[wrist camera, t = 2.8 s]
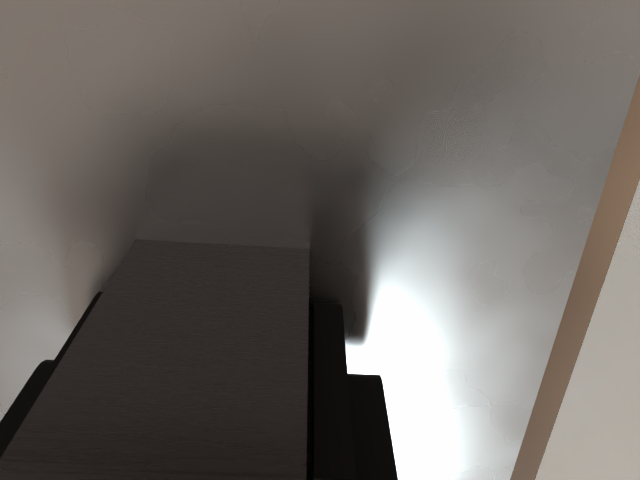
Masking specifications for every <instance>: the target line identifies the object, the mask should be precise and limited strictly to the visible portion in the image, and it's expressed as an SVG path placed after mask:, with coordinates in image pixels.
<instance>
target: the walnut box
mask: <svg viewBox="0 0 640 480" xmlns="http://www.w3.org/2000/svg"><path fill="white" fill-rule="evenodd" d="M639 179H640V75H639V78H638V81H637V84H636V87H635V91H634V94H633V97H632V100H631V103H630V106H629V109H628V113H627V116H626V119H625V122H624V125H623V128H622V131H621V134H620V138H619V141H618V144H617V147H616V150H615V153H614V156H613V159H612V163H611V166H610V169H609V172H608V175H607V178H606V181H605V184H604V188H603V191H602V194H601V197H600V200H599V203H598V206H597V209H596V213H595V216H594V219H593V222H592V225H591V228H590V231H589V234H588V238H587V241H586V244H585V247H584V250H583V253H582V256H581V260H580V263H579V266H578V269H577V272H576V275H575V278H574V281H573V285H572V288H571V291H570V294H569V297H568V300H567V303H566V306H565V310H564V313H563V316H562V319H561V322H560V325H559V328H558V331H557V335H556V338H555V341H554V344H553V347H552V350H551V353H550V356H549V360H548V363H547V366H546V369H545V372H544V375H543V378H542V381H541V385H540V388H539V391H538V394H537V397H536V400H535V403H534V406H533V410H532V413H531V416H530V419H529V422H528V425H527V428H526V432H525V435H524V438H523V441H522V444H521V447H520V450H519V453H518V457H517V460H516V463H515V466H514V469H513V472H512V475H511V478H510V480H535V478H536V475H537V472H538V469H539V466H540V463H541V460H542V457H543V455H544V452H545V449H546V446H547V443H548V440H549V437H550V435H551V432H552V429H553V426H554V423H555V420H556V417H557V414H558V412H559V409H560V406H561V403H562V400H563V397H564V394H565V392H566V389H567V386H568V383H569V380H570V377H571V374H572V371H573V369H574V366H575V363H576V360H577V357H578V354H579V351H580V349H581V346H582V343H583V340H584V337H585V334H586V331H587V328H588V326H589V323H590V320H591V317H592V314H593V311H594V308H595V306H596V303H597V300H598V297H599V294H600V291H601V288H602V285H603V283H604V280H605V277H606V274H607V271H608V268H609V265H610V262H611V260H612V257H613V254H614V251H615V248H616V245H617V242H618V240H619V237H620V234H621V231H622V228H623V225H624V222H625V219H626V217H627V214H628V211H629V208H630V205H631V202H632V199H633V197H634V194H635V191H636V188H637V185H638V182H639Z"/></svg>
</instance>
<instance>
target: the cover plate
mask: <svg viewBox="0 0 640 480" xmlns="http://www.w3.org/2000/svg"><path fill="white" fill-rule="evenodd" d="M639 75H640V0H0V421H1V420H2V418H3V417H4V415H5V414H6V412H7V411H8V409H9V408H10V406H11V405H12V403H13V402H14V400H15V399H16V397H17V396H18V394H19V393H20V391H21V390H22V388H23V387H24V385H25V384H26V382H27V381H28V379H29V378H30V376H31V375H32V373H33V372H34V370H35V369H36V367H37V366H38V365H39V364H40V363H41V362H42V361H44V360H54V359H55V358H56V356H57V355H58V353H59V352H60V350H61V348H62V347H63V345H64V344H65V342H66V340H67V339H68V337H69V336H70V334H71V333H72V331H73V329H74V328H75V326H76V325H77V323H78V322H79V320H80V318H81V317H82V315H83V314H84V312H85V310H86V309H87V307H88V306H89V304H90V303H91V301H92V299H93V298H94V296H95V295H96V294H97V293H98V292H103V293H102V294H101V296H100V298H99V299H98V301H97V302H96V304H95V306H94V307H93V309H92V310H91V312H90V314H89V315H88V317H87V319H86V320H85V322H84V323H83V325H82V327H81V328H80V330H79V332H78V333H77V335H76V336H75V338H74V340H73V341H72V343H71V345H70V346H69V348H68V349H67V351H66V353H65V354H64V356H63V358H62V359H61V361H60V362H59V364H58V366H57V367H56V369H55V371H54V372H53V374H52V375H51V377H50V379H49V380H48V382H47V384H46V385H45V387H44V388H43V390H42V392H41V393H40V395H39V397H38V398H37V400H36V401H35V403H34V405H33V406H32V408H31V410H30V411H29V413H28V414H27V416H26V418H25V419H24V421H23V422H22V424H21V426H20V427H19V429H18V431H17V432H16V434H15V435H14V437H13V439H12V440H11V442H10V444H9V445H8V447H7V448H6V450H5V452H4V453H3V455H2V457H1V458H0V480H306V462H307V388H308V315H309V310H313V303H314V302H317V303H337V304H342V308H343V320H344V333H345V345H346V358H347V370H348V373H351V374H372V375H380V376H381V377H382V381H383V387H384V393H385V399H386V406H387V412H388V418H389V424H390V431H391V437H392V443H393V450H394V456H395V462H396V468H397V475H398V480H510V478H511V475H512V472H513V469H514V466H515V463H516V460H517V457H518V453H519V450H520V447H521V444H522V441H523V438H524V435H525V432H526V428H527V425H528V422H529V419H530V416H531V413H532V410H533V406H534V403H535V400H536V397H537V394H538V391H539V388H540V385H541V381H542V378H543V375H544V372H545V369H546V366H547V363H548V360H549V356H550V353H551V350H552V347H553V344H554V341H555V338H556V335H557V331H558V328H559V325H560V322H561V319H562V316H563V313H564V310H565V306H566V303H567V300H568V297H569V294H570V291H571V288H572V285H573V281H574V278H575V275H576V272H577V269H578V266H579V263H580V260H581V256H582V253H583V250H584V247H585V244H586V241H587V238H588V234H589V231H590V228H591V225H592V222H593V219H594V216H595V213H596V209H597V206H598V203H599V200H600V197H601V194H602V191H603V188H604V184H605V181H606V178H607V175H608V172H609V169H610V166H611V163H612V159H613V156H614V153H615V150H616V147H617V144H618V141H619V138H620V134H621V131H622V128H623V125H624V122H625V119H626V116H627V113H628V109H629V106H630V103H631V100H632V97H633V94H634V91H635V87H636V84H637V81H638V78H639Z"/></svg>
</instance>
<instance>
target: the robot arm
mask: <svg viewBox="0 0 640 480" xmlns="http://www.w3.org/2000/svg"><path fill="white" fill-rule="evenodd" d="M102 293H103V292H98V293H97V294H96V295H95V296H94V298H93V299H92V301H91V303H90V304H89V306H88V307H87V309H86V310H85V312H84V314H83V315H82V317H81V318H80V320H79V322H78V323H77V325H76V326H75V328H74V329H73V331H72V333H71V334H70V336H69V337H68V339H67V340H66V342H65V344H64V345H63V347H62V348H61V350H60V352H59V353H58V355H57V356H56V358H55V359H54V360H44V361H42V362H41V363H40V364H39V365H38V366H37V367H36V369H35V370H34V372H33V373H32V375H31V376H30V378H29V379H28V381H27V382H26V384H25V385H24V387H23V388H22V390H21V391H20V393H19V394H18V396H17V397H16V399H15V400H14V402H13V403H12V405H11V406H10V408H9V409H8V411H7V412H6V414H5V415H4V417H3V418H2V420H1V421H0V458H1V457H2V455H3V453H4V452H5V450H6V448H7V447H8V445H9V444H10V442H11V440H12V439H13V437H14V435H15V434H16V432H17V431H18V429H19V427H20V426H21V424H22V422H23V421H24V419H25V418H26V416H27V414H28V413H29V411H30V410H31V408H32V406H33V405H34V403H35V401H36V400H37V398H38V397H39V395H40V393H41V392H42V390H43V388H44V387H45V385H46V384H47V382H48V380H49V379H50V377H51V375H52V374H53V372H54V371H55V369H56V367H57V366H58V364H59V362H60V361H61V359H62V358H63V356H64V354H65V353H66V351H67V349H68V348H69V346H70V345H71V343H72V341H73V340H74V338H75V336H76V335H77V333H78V332H79V330H80V328H81V327H82V325H83V323H84V322H85V320H86V319H87V317H88V315H89V314H90V312H91V310H92V309H93V307H94V306H95V304H96V302H97V301H98V299H99V298H100V296H101V294H102ZM306 480H398V475H397V468H396V462H395V456H394V450H393V443H392V437H391V431H390V424H389V418H388V412H387V406H386V399H385V393H384V387H383V381H382V377H381V376H380V375H372V374H351V373H348V370H347V358H346V345H345V333H344V320H343V308H342V304H337V303H317V302H314V303H313V310H309V315H308V388H307V462H306Z"/></svg>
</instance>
